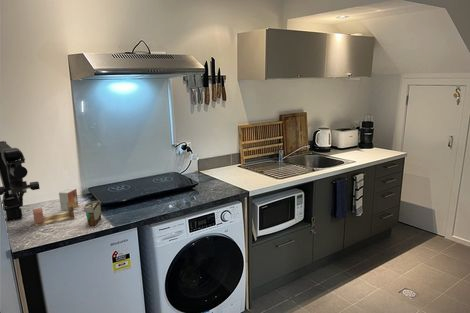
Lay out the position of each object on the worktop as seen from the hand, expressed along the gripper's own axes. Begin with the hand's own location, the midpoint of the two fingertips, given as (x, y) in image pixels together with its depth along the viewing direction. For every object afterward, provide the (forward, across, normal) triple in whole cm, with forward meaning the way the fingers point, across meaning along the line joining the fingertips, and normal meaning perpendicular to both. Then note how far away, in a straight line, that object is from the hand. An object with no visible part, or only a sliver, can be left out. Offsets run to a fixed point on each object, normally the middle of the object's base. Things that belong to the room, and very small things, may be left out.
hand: (20, 204), depth 169 cm
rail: (+12, +14, 0) cm, 18 cm away
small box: (+12, +23, +15) cm, 30 cm away
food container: (+12, +30, -15) cm, 36 cm away
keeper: (+10, +7, 0) cm, 12 cm away
